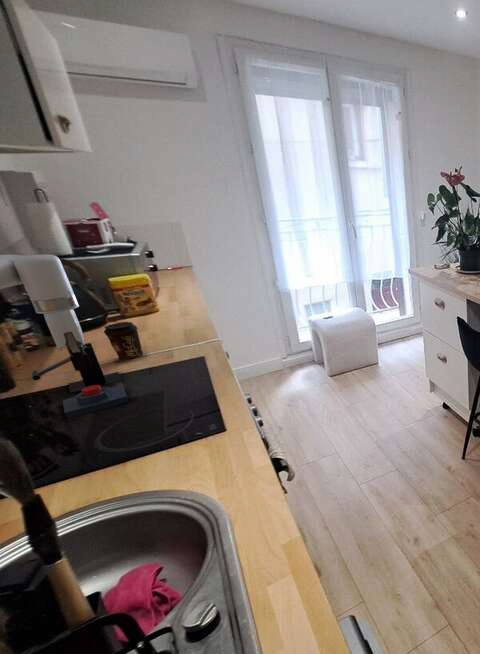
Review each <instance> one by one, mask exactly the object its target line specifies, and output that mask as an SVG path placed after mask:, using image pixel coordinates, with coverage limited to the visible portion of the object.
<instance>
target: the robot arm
mask: <svg viewBox="0 0 480 654" xmlns="http://www.w3.org/2000/svg"><path fill="white" fill-rule="evenodd" d="M60 259H61V258H59V257H58V256H57V255H54V254H30V255H22V254H0V290H2V289H6V288H11V287H15V286H19V285H23V287H24V289H25V291H26V293H27V296H28V297H29V300H30V302H31V304H32V306H33V309H34V312H35V313H36V314H43V317H44V321H45V322H46V325H47V327H48V330H49V332H50V334H51V336H52V339H53V341H54V343H55V346H56V347H57V350H59V351H63V349H66V350H67V352H68V354H69V356H68V357H70V360H71V361H70V362H71V364H72V366H73V368H74V370H75V372H79V371H80V370H85V369H89V368H92V364H91V362H90V360H89V357H88V355H87V353H85V351H84V349H83V345H84V344H86V343H85V338H84V334H83V330H82V327H81V324H80V321H79V319H78V317H77V314H76V312H75V309H78V308H79V307H80V304H79V302H78V300H77V297H76V295H75V293H74V290H73V287H72V285H71V283H70V280H69V277H68V276H67V273H66V270H65V268H64V266H63V263H62V261H61V260H60Z"/></svg>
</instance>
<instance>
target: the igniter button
mask: <svg viewBox="0 0 480 654" xmlns="http://www.w3.org/2000/svg"><path fill="white" fill-rule="evenodd" d="M101 387H102V386H100V385H93V386H88V387H85V388H83V389H82V390H81V391H80V392H82V393H83V395H84V396H91V395H95V394H98V393H101V392H102V390H101Z"/></svg>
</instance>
